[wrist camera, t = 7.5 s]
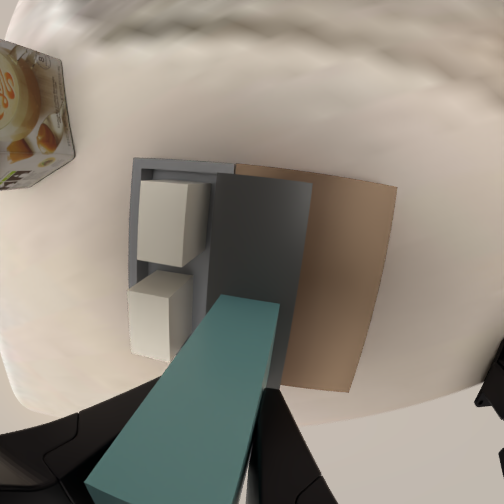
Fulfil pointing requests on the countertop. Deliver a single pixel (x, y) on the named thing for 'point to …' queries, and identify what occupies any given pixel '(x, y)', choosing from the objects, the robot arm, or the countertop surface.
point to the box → (200, 263)
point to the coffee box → (31, 117)
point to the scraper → (218, 357)
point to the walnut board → (335, 275)
